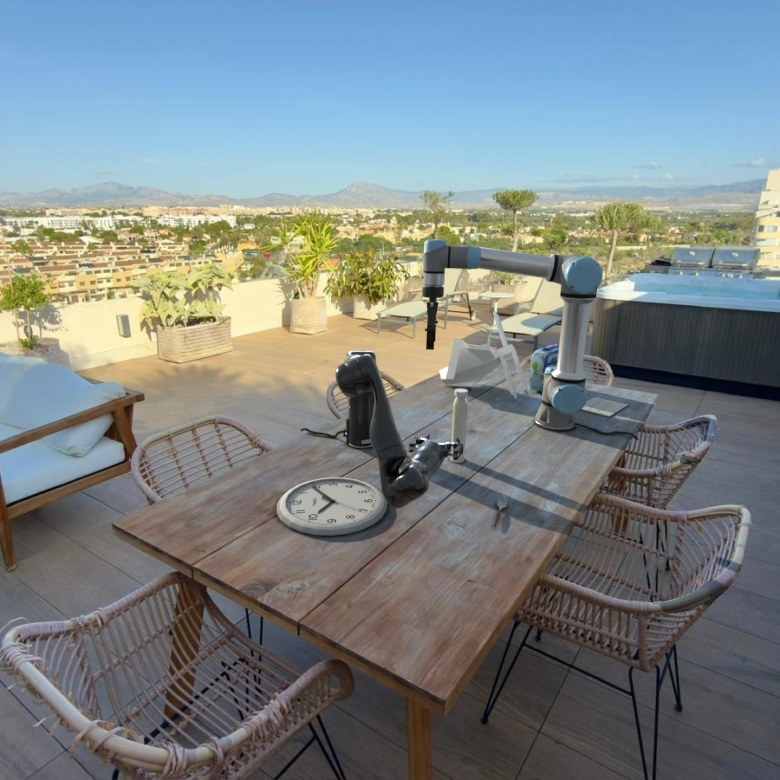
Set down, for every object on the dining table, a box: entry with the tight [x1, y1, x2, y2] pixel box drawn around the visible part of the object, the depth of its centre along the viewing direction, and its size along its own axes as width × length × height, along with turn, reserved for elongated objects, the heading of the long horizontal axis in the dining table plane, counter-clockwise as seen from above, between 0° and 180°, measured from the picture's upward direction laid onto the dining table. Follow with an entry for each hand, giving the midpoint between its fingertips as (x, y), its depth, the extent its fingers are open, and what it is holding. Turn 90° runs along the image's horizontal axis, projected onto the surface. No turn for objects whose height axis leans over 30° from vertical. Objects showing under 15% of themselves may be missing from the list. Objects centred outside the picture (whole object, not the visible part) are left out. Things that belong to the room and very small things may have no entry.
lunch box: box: [528, 344, 559, 393], centre depth 247 cm, size 26×11×21 cm, turn 134°
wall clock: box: [276, 476, 388, 537], centre depth 142 cm, size 30×2×30 cm
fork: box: [493, 493, 509, 528], centre depth 139 cm, size 3×16×2 cm, turn 160°
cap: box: [454, 388, 469, 398], centre depth 165 cm, size 4×4×2 cm
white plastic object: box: [438, 310, 531, 400], centre depth 245 cm, size 37×45×31 cm
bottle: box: [449, 396, 469, 464], centre depth 169 cm, size 4×4×24 cm
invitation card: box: [580, 396, 629, 418], centre depth 226 cm, size 21×1×15 cm
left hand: (442, 438), depth 149 cm, fingers open, 8 cm apart
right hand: (430, 345), depth 188 cm, fingers open, 13 cm apart
